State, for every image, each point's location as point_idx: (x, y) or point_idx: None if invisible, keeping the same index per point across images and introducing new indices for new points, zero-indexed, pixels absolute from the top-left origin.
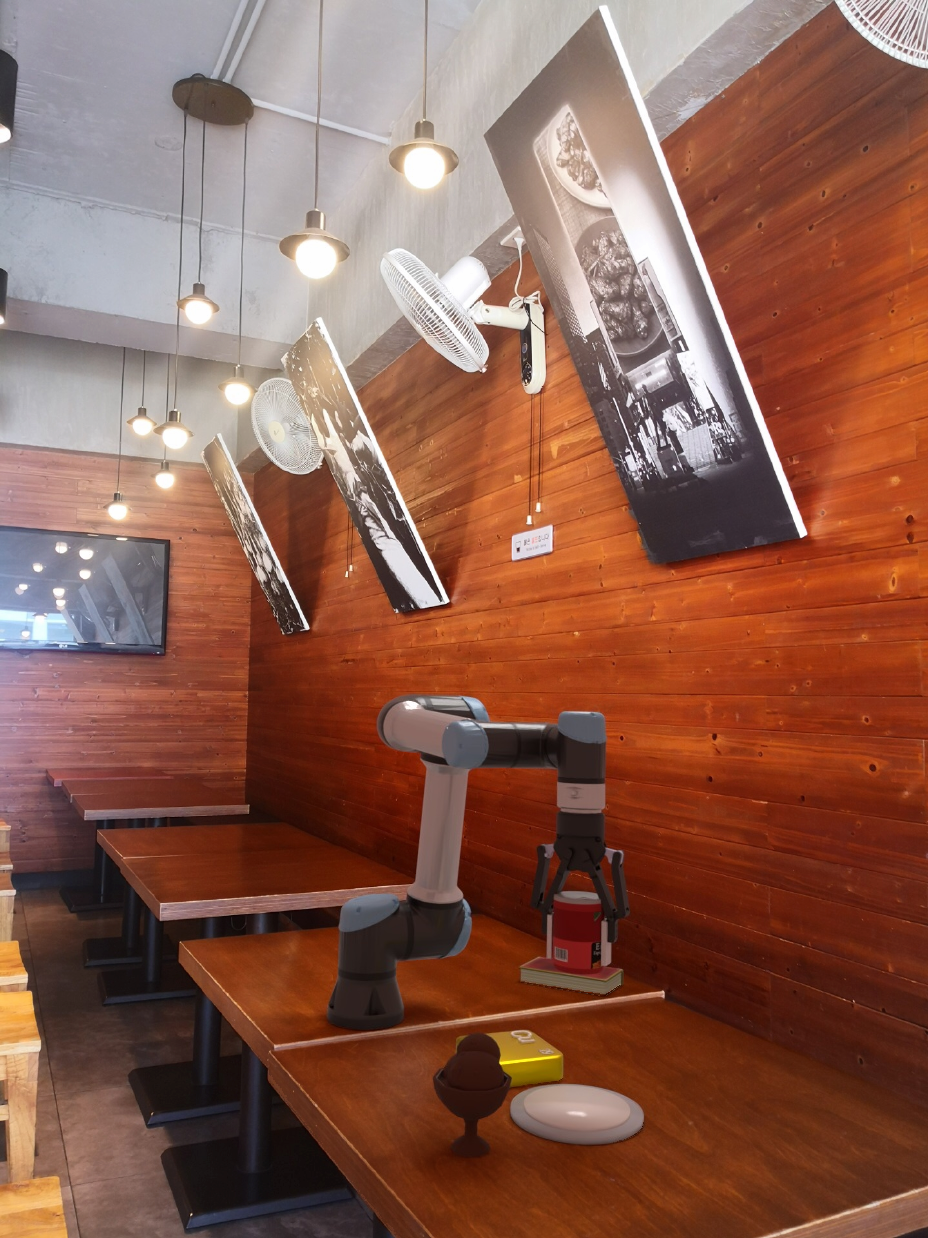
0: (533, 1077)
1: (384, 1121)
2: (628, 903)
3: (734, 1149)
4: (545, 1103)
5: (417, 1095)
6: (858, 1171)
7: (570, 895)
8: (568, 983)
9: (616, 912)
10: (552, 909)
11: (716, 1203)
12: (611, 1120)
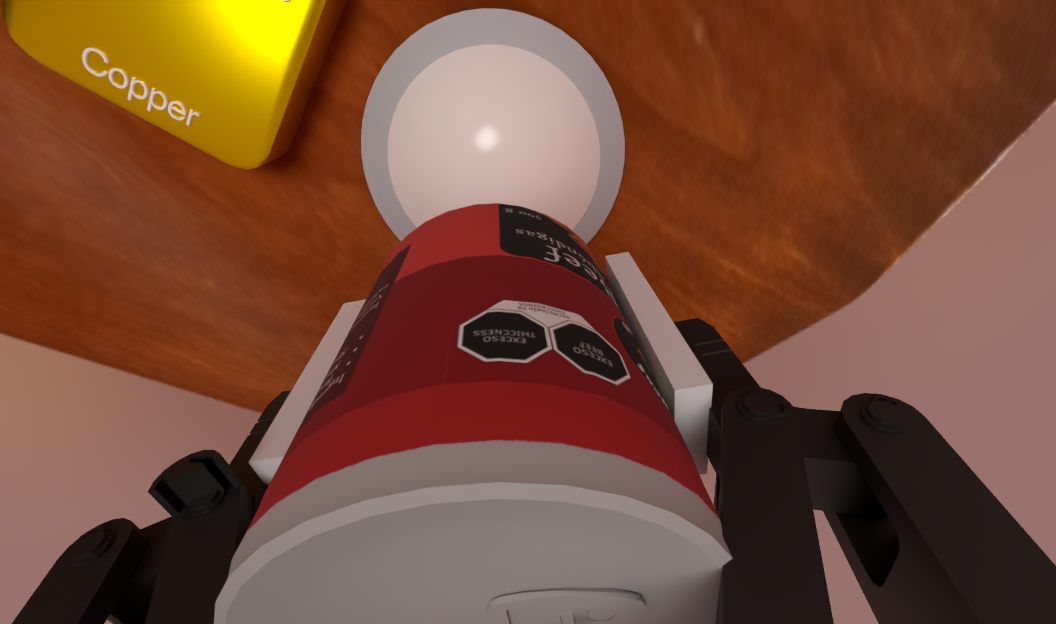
0: (317, 62)
1: (287, 369)
2: (977, 485)
3: (793, 107)
4: (444, 200)
5: (224, 270)
6: (1014, 48)
7: (338, 592)
8: None
9: (812, 504)
10: (249, 499)
11: (774, 295)
12: (581, 190)
